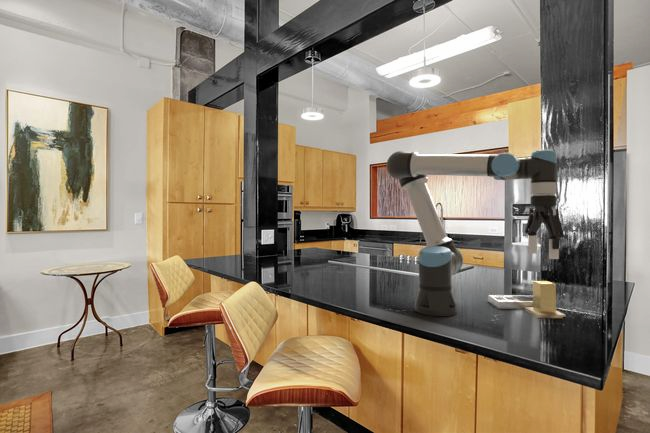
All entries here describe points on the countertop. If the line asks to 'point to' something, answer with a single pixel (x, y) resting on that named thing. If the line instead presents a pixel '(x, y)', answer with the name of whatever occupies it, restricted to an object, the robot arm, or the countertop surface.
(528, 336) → the countertop surface
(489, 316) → the countertop surface
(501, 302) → the white recessed slab
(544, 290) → the block
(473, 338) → the countertop surface
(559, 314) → the coaster
